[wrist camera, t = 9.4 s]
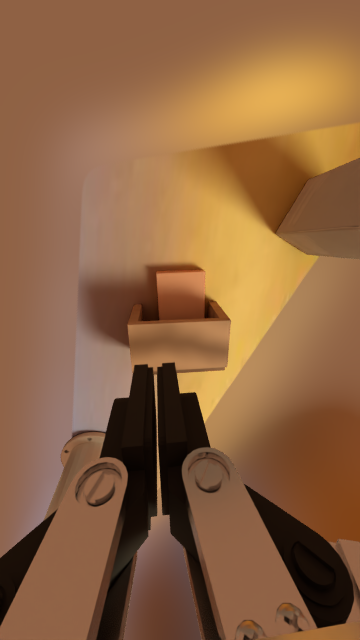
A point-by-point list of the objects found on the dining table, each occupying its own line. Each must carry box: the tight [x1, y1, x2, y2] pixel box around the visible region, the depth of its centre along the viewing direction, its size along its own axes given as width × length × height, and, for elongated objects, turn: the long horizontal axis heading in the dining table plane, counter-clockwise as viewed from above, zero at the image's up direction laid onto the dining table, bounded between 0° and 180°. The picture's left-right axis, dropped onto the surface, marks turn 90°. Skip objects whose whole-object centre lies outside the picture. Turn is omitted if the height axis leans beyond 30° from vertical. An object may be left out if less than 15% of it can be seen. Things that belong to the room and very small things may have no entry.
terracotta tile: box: [156, 270, 205, 321], centre depth 36 cm, size 12×7×2 cm, turn 1°
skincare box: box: [276, 158, 360, 259], centre depth 25 cm, size 8×7×16 cm
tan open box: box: [127, 302, 231, 374], centre depth 34 cm, size 8×13×8 cm, turn 91°
